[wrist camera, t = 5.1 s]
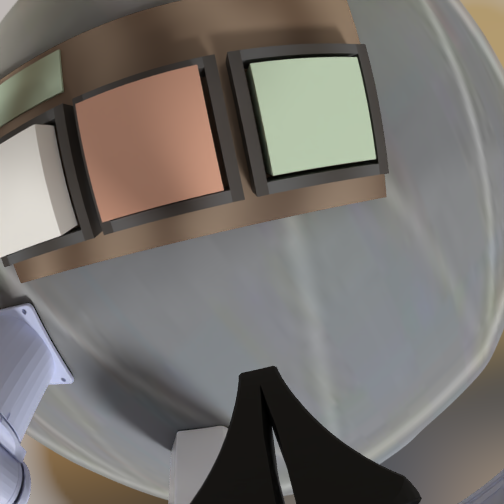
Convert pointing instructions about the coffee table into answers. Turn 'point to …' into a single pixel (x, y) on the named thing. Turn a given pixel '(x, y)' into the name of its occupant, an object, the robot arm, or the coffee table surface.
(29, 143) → the key white
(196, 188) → the key terracotta
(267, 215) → the console
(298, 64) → the key sage
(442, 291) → the coffee table surface
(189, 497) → the jar
